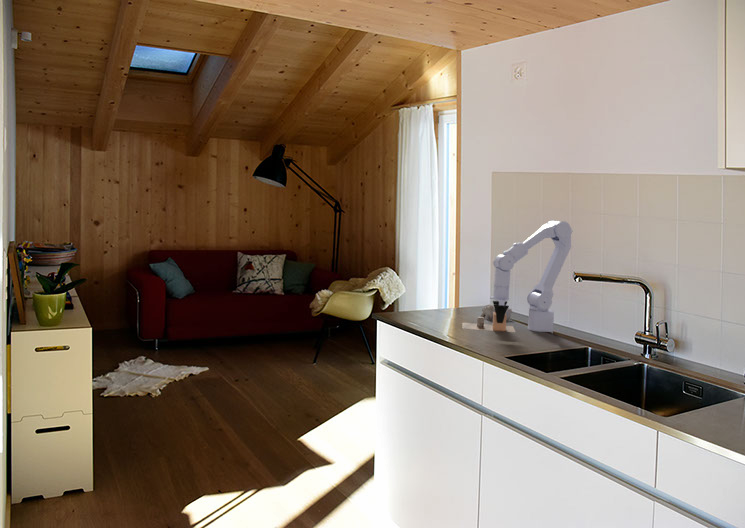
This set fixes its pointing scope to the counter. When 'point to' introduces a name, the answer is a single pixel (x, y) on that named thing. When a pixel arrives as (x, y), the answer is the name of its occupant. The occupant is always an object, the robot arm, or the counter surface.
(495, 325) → the light orange block
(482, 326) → the board
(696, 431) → the counter surface
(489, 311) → the stone
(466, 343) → the counter surface
